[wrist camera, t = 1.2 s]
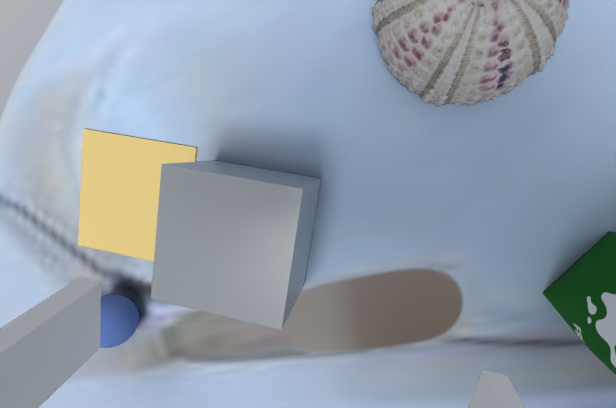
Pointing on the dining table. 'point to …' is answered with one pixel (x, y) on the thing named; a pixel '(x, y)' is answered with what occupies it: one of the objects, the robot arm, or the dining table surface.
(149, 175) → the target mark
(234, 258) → the grey cube
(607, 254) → the milk carton
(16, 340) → the robot arm
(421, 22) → the sea urchin shell
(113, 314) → the ball
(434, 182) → the dining table surface
